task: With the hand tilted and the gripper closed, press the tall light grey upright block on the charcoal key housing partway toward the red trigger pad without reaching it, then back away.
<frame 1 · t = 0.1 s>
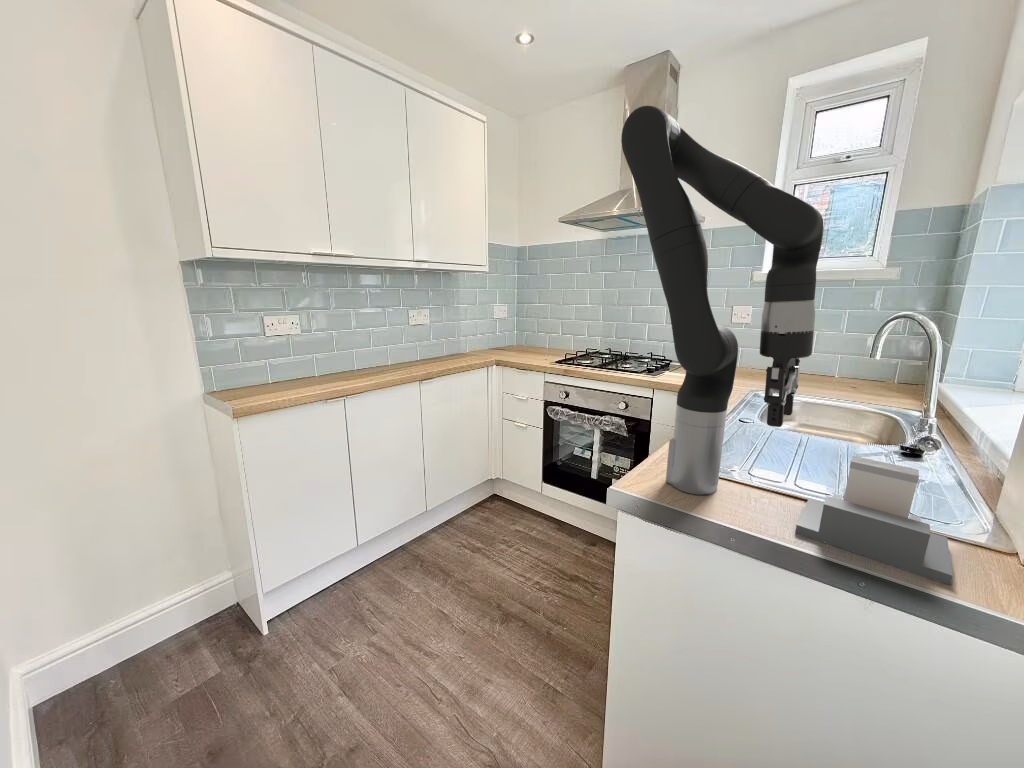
hand: (779, 419, 72), 17 cm above the counter, tool pointing down, fingers open, 8 cm apart
light grey upright block: (877, 493, 67), point 7 cm above the counter, slide at 0.0 cm
key housing: (867, 539, 66), on the counter
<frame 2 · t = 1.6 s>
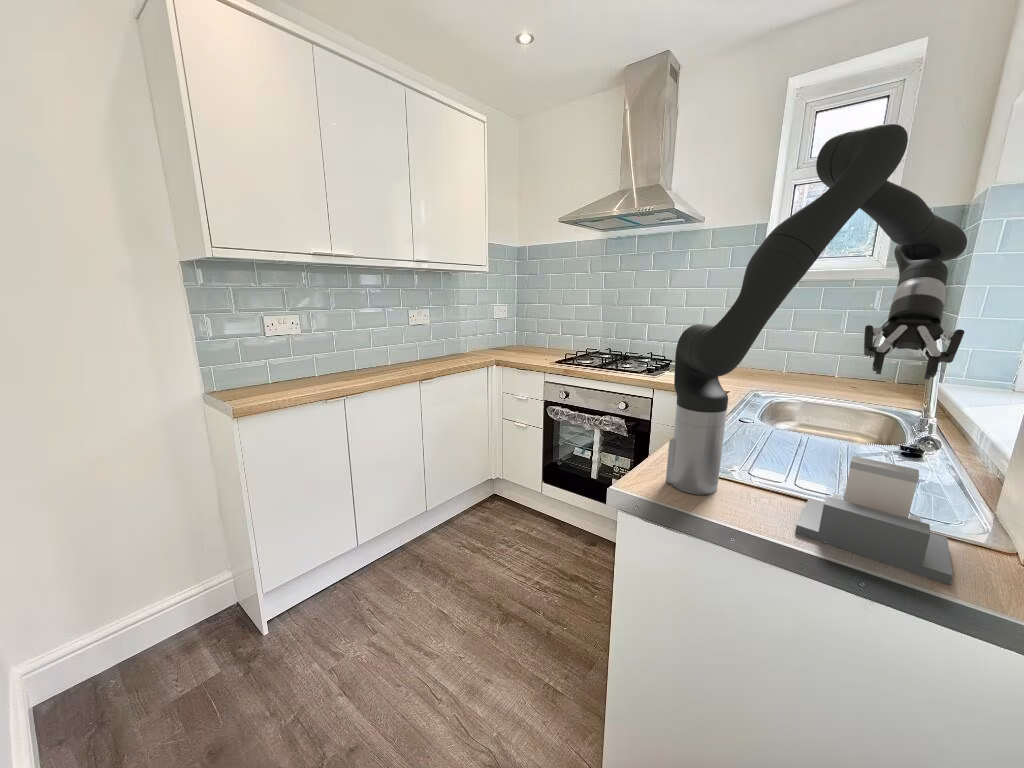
hand: (902, 374, 75), 24 cm above the counter, tool tilted 45°, fingers open, 6 cm apart
nothing on the counter moved.
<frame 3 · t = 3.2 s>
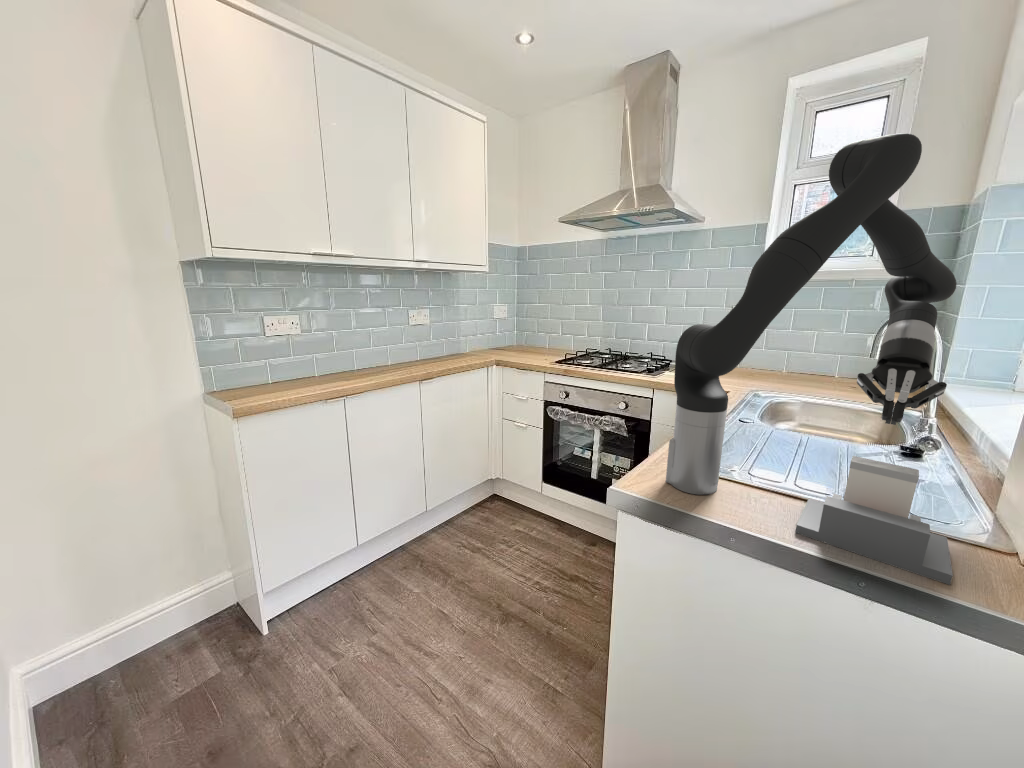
hand: (891, 422, 75), 16 cm above the counter, tool tilted 45°, fingers closed
nothing on the counter moved.
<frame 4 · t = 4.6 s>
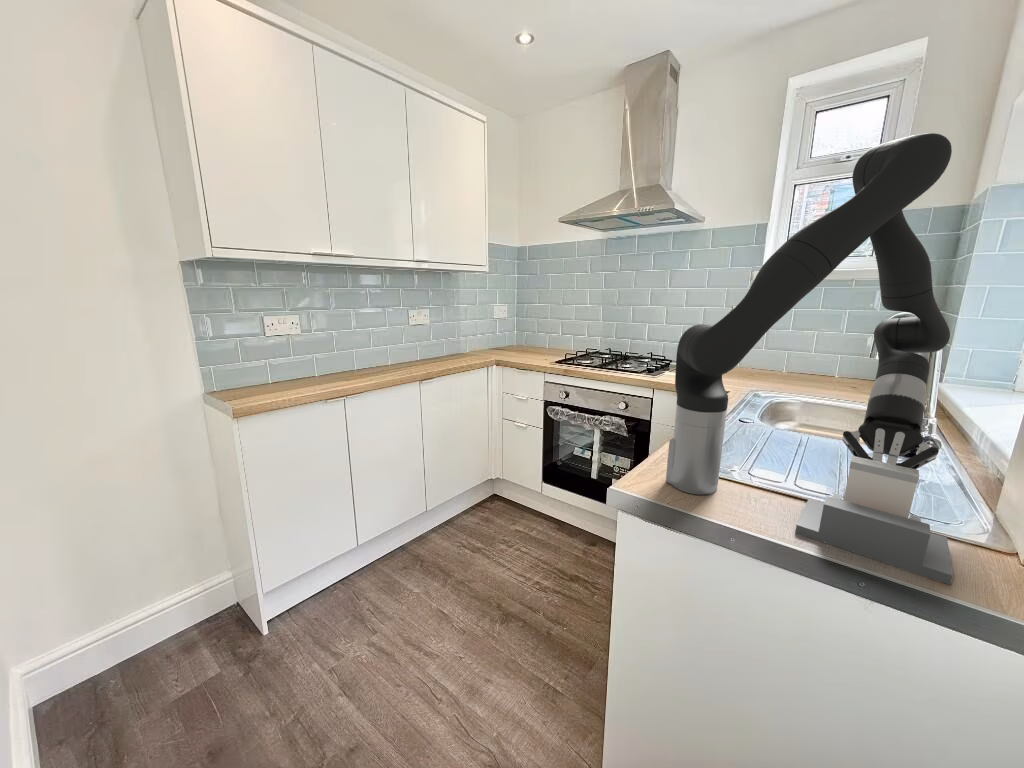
hand: (878, 489, 68), 7 cm above the counter, tool tilted 45°, fingers closed
light grey upright block: (877, 493, 67), point 7 cm above the counter, slide at 0.1 cm, touching gripper
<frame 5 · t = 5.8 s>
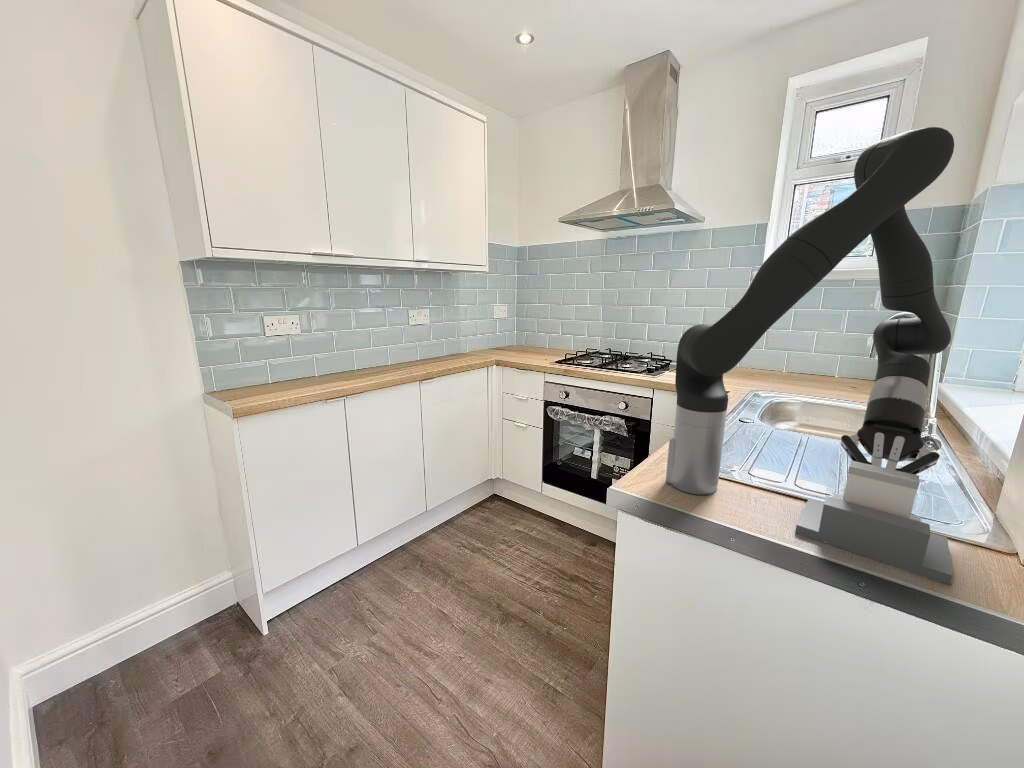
hand: (877, 495, 67), 7 cm above the counter, tool tilted 45°, fingers closed
light grey upright block: (876, 499, 65), point 7 cm above the counter, slide at 2.7 cm, touching gripper
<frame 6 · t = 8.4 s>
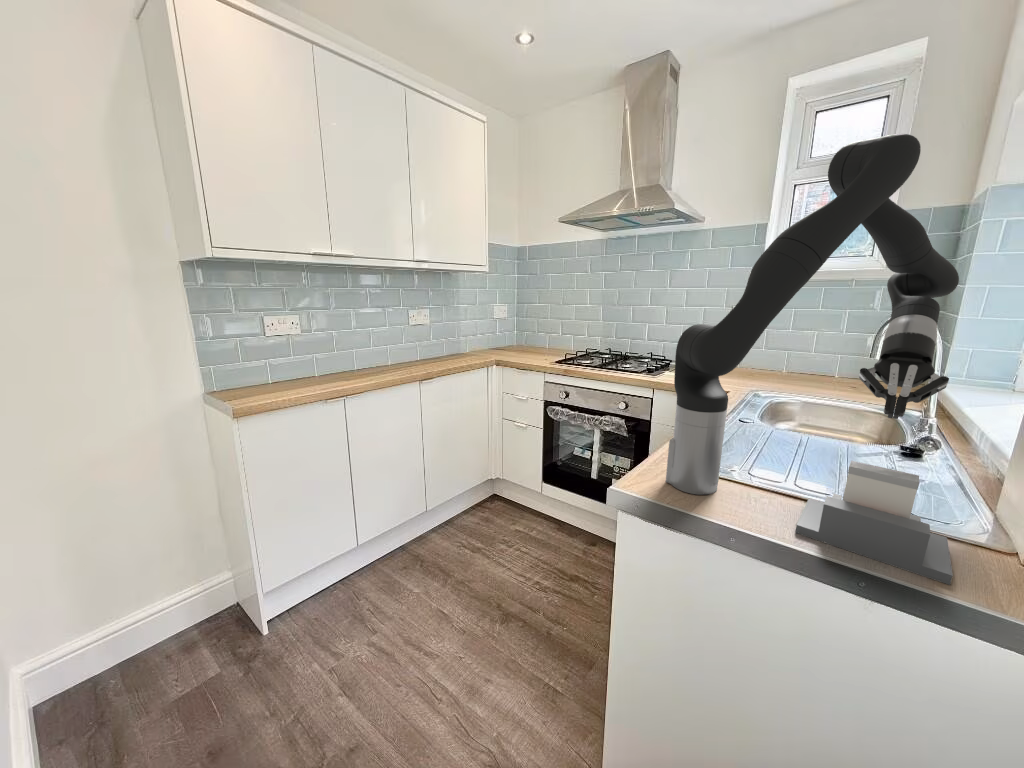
hand: (893, 416, 75), 17 cm above the counter, tool tilted 45°, fingers closed
light grey upright block: (876, 499, 65), point 7 cm above the counter, slide at 2.7 cm
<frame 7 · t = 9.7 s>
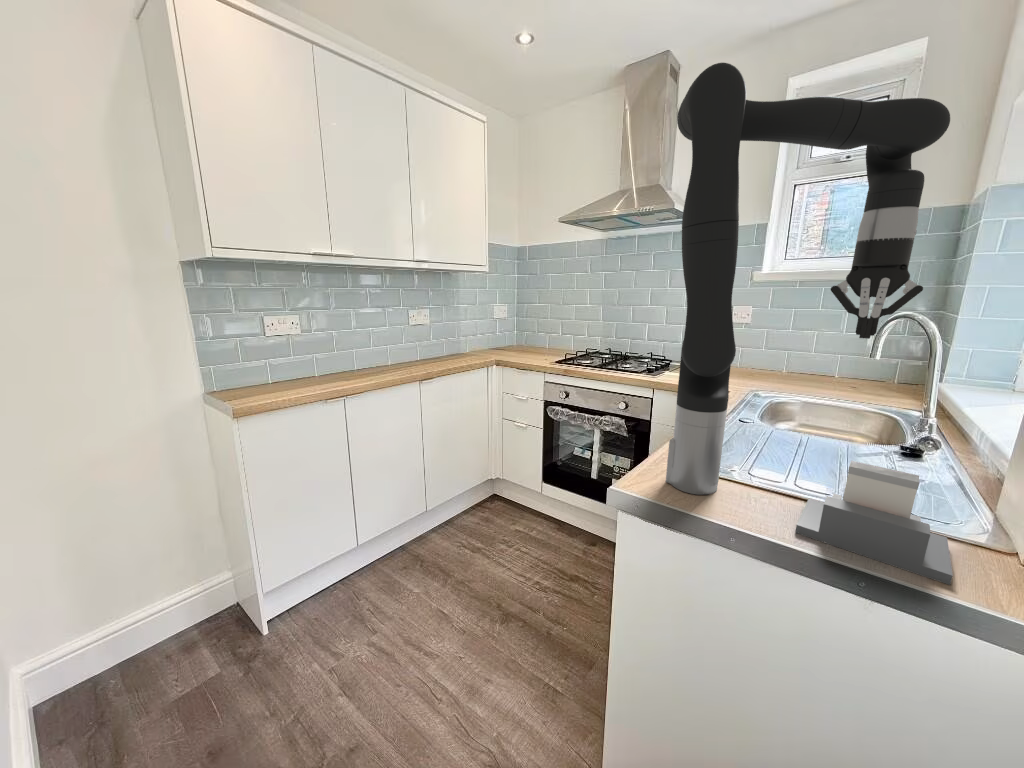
hand: (864, 337, 75), 31 cm above the counter, tool pointing down, fingers closed
nothing on the counter moved.
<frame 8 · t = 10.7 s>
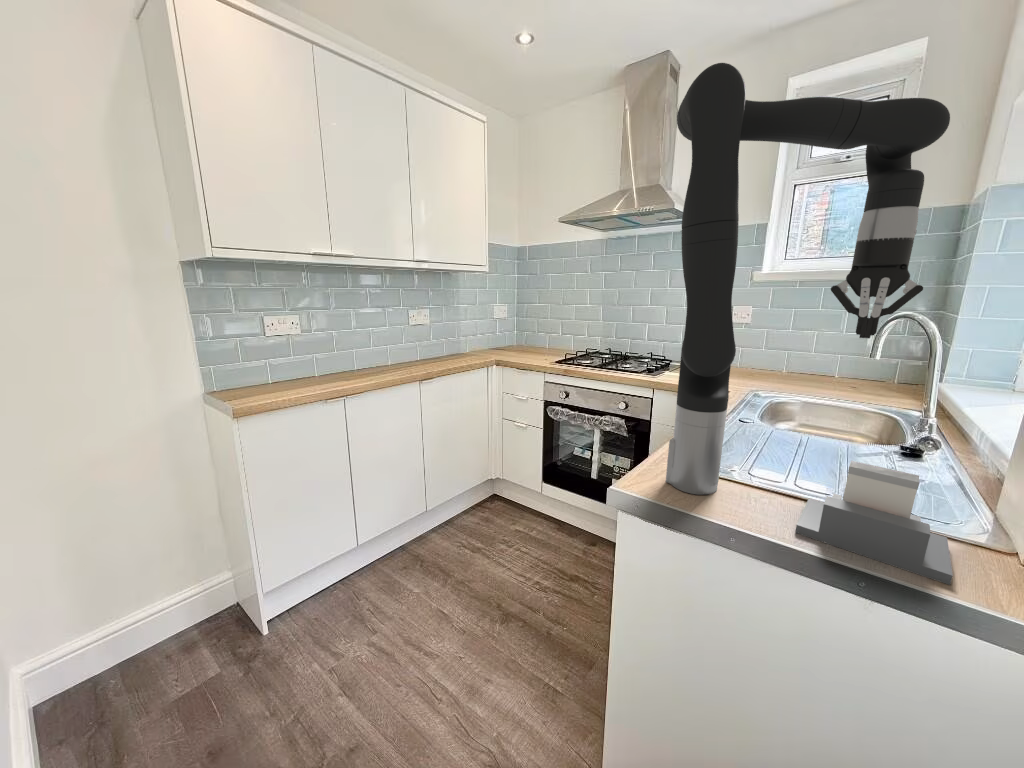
hand: (865, 337, 75), 31 cm above the counter, tool pointing down, fingers closed
nothing on the counter moved.
at the end: light grey upright block slide at 2.7 cm; the gripper is holding nothing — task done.
